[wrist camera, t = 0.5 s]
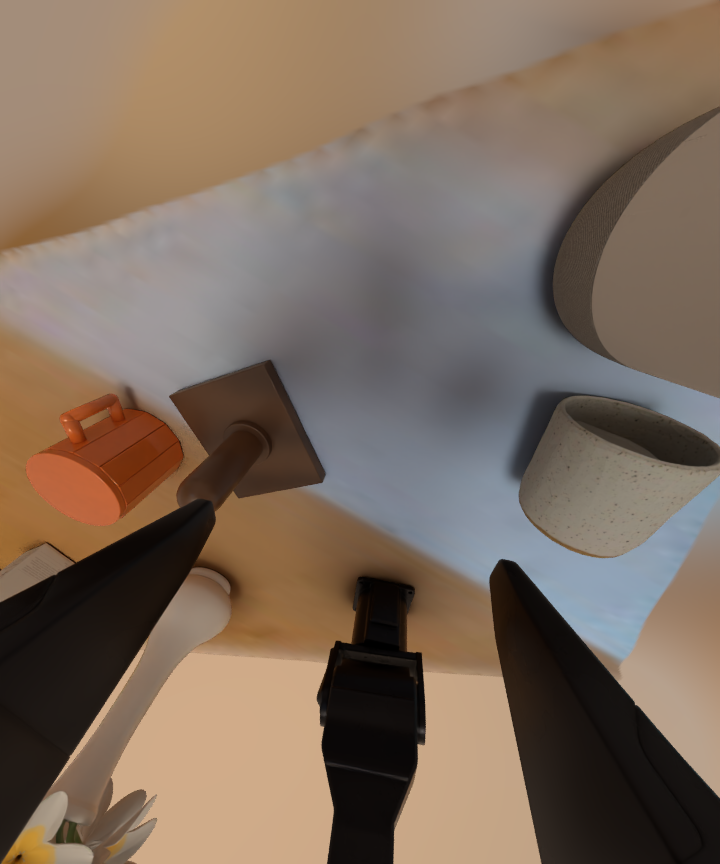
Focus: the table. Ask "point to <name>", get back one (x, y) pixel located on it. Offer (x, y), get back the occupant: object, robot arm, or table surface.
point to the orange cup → (104, 462)
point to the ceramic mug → (612, 474)
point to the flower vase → (121, 744)
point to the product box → (31, 569)
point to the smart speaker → (651, 261)
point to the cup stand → (245, 437)
